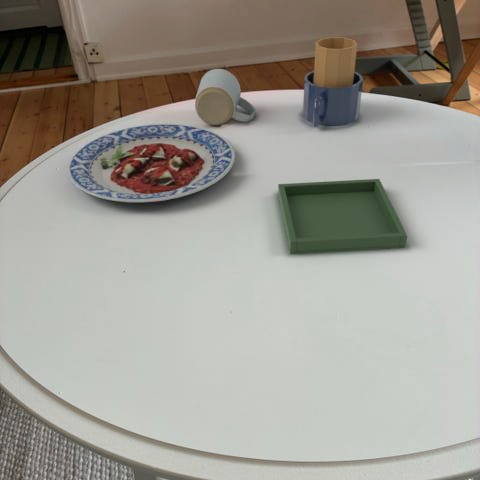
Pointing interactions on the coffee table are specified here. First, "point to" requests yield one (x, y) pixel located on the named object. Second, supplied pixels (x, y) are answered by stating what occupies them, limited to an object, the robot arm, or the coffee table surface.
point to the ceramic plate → (151, 163)
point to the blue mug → (331, 102)
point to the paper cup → (334, 62)
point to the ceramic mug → (221, 98)
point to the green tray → (339, 217)
